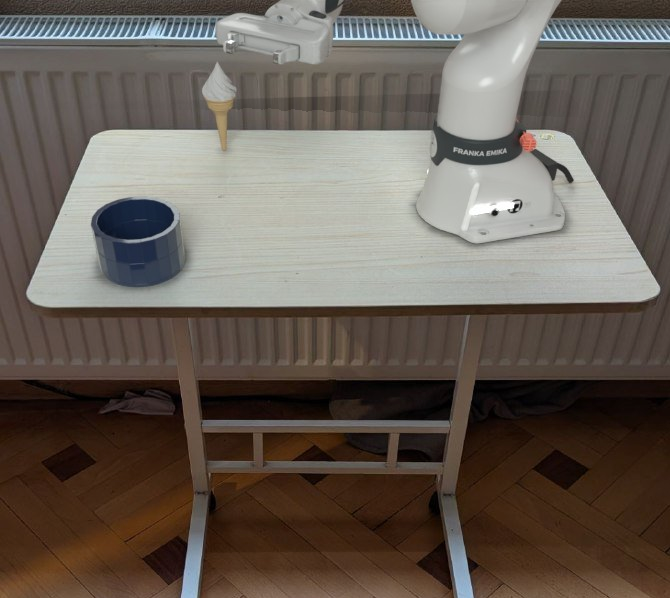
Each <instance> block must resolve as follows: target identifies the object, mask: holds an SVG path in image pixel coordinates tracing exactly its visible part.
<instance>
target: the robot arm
mask: <svg viewBox="0 0 670 598" xmlns="http://www.w3.org/2000/svg"><path fill="white" fill-rule="evenodd" d="M345 1H346V0H278V1H277V2H276V3H274V4H273V5H271V6H270V7H268V9H267V10H266V12H265V13H264V16H260V15H258V14H257V15H256V14H252V13H247V12H246V13H245V12H235V13H232V14H230V15H228V16H225V17H224V18H221V19H219V20H218V21H216V23H215V37H216V42H217V43H218V45H221V46H222V48H223V53H224V54H229V55H234V54H235V53H236V52H237V49H239V50H243V51H248V52H253V53H256V54H257V53H258V54H262V55H266V56H271V57H272V63H273V64H275V65H279V66H283V65H284V64H285V63H291V62H298V63H299V62H300V63H304V64H308V65H312V66H313V65H320V64H322V63H324V62H325V61H326V60H327V59H328V58H329V56H330V55H332V52H333V45H334V24H335V22H336V21H337V19H338V18H339V16H340V15H341V12H342V9H343V6H344V3H345ZM562 1H563V0H410V3H411V6H412V9H413V11H414V14H415V16H416V18H417V19H418V21H419V22H420V24H421V25H422V26H423V27H424V28H425V29H426V30H428V31H429V32H431V33H433V34H436V35H440V36H442V35H444V36H445V35H446V36H447V35H448V36H449V35H450V36H452V35H455V36H456V35H457V36H458V35H463V36H462V37H461V39H460V41H459V42H458V44H457V45H456V47H455V48H454V49H453V50H452V51H451V52H450V54H449V55H448V57H447V58H446V60H445V62H444V65H443V68H442V73H441V79H440V80H441V81H440V89H439V99H438V108H437V114H436V115H435V117H434V119H433V124H432V129H431V134H430V142H429V156H430V159H429V160H430V161H429V165H428V169H427V172H426V176H425V180H424V183H423V186H422V188H421V189H422V190H421V191H420V194H419V196H418V199H417V200H416V203H415V209H416V211H417V214H418V216H419V217H420V218H421V219H422V220H423V221H424V222H426V223H427V224H429V225H430V226H432V227H434V228H436V229H438V230H440V231H443V232H447V233H450V234H453V235H456V236H458V237H460V238H462V239H463V240H465V241H466V242H469V243H472V244H484V243H490V242H496V241H501V240H508V239H514V238H519V237H526V236H532V235H537V234H538V235H539V234H544V233H549V232H555V231H560V230H562V229H563V227H564V224H565V219H566V213H565V208H564V207H563V204H562V202H561V200H560V199H559V196H557V194H556V193H555V192H554V181H555V180H556V177H557V171H558V170H559V171H560V172H562V173H563V175H564V176H565V178H566V180H567V183H569V184H572V183H574V181H575V180H574V177H573V176H572V174H571V172H570V170H569V168H568V167H566V165H564V164H562V163H559V162H557V161H556V160H554V159H552V158H551V157H549V156H548V155H547V154H545V153H544V152H542V151H541V150H539V149H537V147H536V146H537V145H538V142H537V140H536V139H535V138H534V135H533V134H532V133H530V132H527V128H526V127H525V126H524V125H523V124H522V123H521V122H520V121H519V120H518V118H517V116H518V112H519V111H518V110H519V106H520V101H521V98H522V97H521V96H522V92H523V87H524V83H525V79H526V75H527V72H528V70H529V69H528V68H529V66H530V63H531V60H532V58H533V56H534V54H535V51H536V49H537V47H538V45H539V43H540V40H541V38H542V36H543V34H544V31H545V30H546V28H547V25H548V23H549V22H550V20H551V18H552V16H553V14H554V13H555V11H556V9H557V8H558V6H559V5H560V3H561V2H562Z"/></svg>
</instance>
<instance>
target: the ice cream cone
mask: <svg viewBox="0 0 670 598" xmlns="http://www.w3.org/2000/svg"><path fill="white" fill-rule="evenodd" d="M201 93H202V97H203V99H204V100H205V101H206V105H207V108H208V109H209V110H211V111H212V112H213V114H214V117H215V122H216V127H217V131H218V137H219V141H220V146H221V147H220V148H221V150H222V151H223V152H226V150H227V138H228V137H227V136H228V135H227V134H228V113H229V111H230V110H231V109H232V108H233V106H234V101H235V99H236V97H237V87H236V86H235V85H233V81H232V80H231V79H230V78H229V76H228V75H227V74H226V73H225V71H224V70H223V69H222V67H221V65H220V64H219V62H218V61H216V63H215V65H214V67H213V70H212V72H211V73H210V75H209V76H208V78H207V80H206V81H205V83H204V84H203V86H202V88H201Z"/></svg>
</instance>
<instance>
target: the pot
mask: <svg viewBox="0 0 670 598" xmlns="http://www.w3.org/2000/svg"><path fill="white" fill-rule="evenodd" d="M90 228H91V233H92V237H93V242H94V248H95V252H96V256H97V262H98V266H99V269H100V272H101V274H102V275H103V277H104V278H105V279H107V280H108V281H109V282H112V283H114V284H117V285H119V286H123V287H130V288H144V287H151V286H155V285H159V284H162V283H165V282H167V281H169V280H171V279H173V278H174V277H176V276H177V275H178V274H180V272H181V271H182V270H183V268H184V265H185V262H186V259H185V248H184V238H183V237H184V236H183V230H182V229H183V228H182V220H181V213H180V211H179V210H178V207H177V206H176V205H174V204H172V203H171V202H169V201H168V200H165V199H161V198H159V197H153V196H145V195H142V196H140V195H139V196H128V197H124V198H119V199H115V200H113V201H111V202H108V203H106V204H104V205H102V206H101V207H100V208H98V209H97V210H96V211H95V212H94V214H93V215H92V217H91V222H90Z"/></svg>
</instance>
